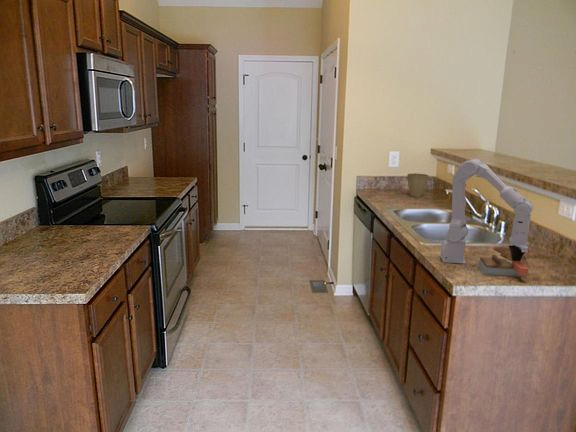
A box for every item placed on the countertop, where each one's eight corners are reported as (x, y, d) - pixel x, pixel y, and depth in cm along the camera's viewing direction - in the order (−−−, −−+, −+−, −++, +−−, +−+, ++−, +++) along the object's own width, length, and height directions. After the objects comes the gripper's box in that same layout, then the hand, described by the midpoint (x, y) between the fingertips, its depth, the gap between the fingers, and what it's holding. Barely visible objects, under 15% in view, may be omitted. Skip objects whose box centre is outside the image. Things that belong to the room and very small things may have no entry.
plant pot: (430, 197, 330) (432, 175, 326) (413, 198, 326) (414, 176, 322) (419, 193, 344) (420, 172, 340) (401, 194, 340) (403, 173, 336)
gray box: (484, 274, 181) (485, 267, 180) (477, 266, 190) (478, 259, 189) (521, 276, 179) (522, 269, 178) (513, 268, 188) (514, 262, 187)
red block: (519, 274, 173) (520, 268, 173) (511, 266, 181) (512, 260, 181) (527, 275, 173) (528, 268, 172) (519, 267, 181) (520, 260, 180)
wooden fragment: (489, 246, 218) (489, 244, 218) (512, 247, 217) (513, 245, 217) (512, 265, 193) (512, 263, 193) (538, 266, 192) (538, 264, 192)
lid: (486, 267, 180) (487, 261, 179) (480, 259, 189) (480, 253, 188) (512, 268, 179) (513, 262, 178) (505, 261, 187) (506, 255, 187)
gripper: (538, 237, 171) (533, 271, 175) (524, 227, 185) (519, 258, 188) (518, 236, 172) (513, 269, 175) (505, 226, 186) (501, 257, 189)
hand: (515, 264), depth 182 cm, fingers closed
